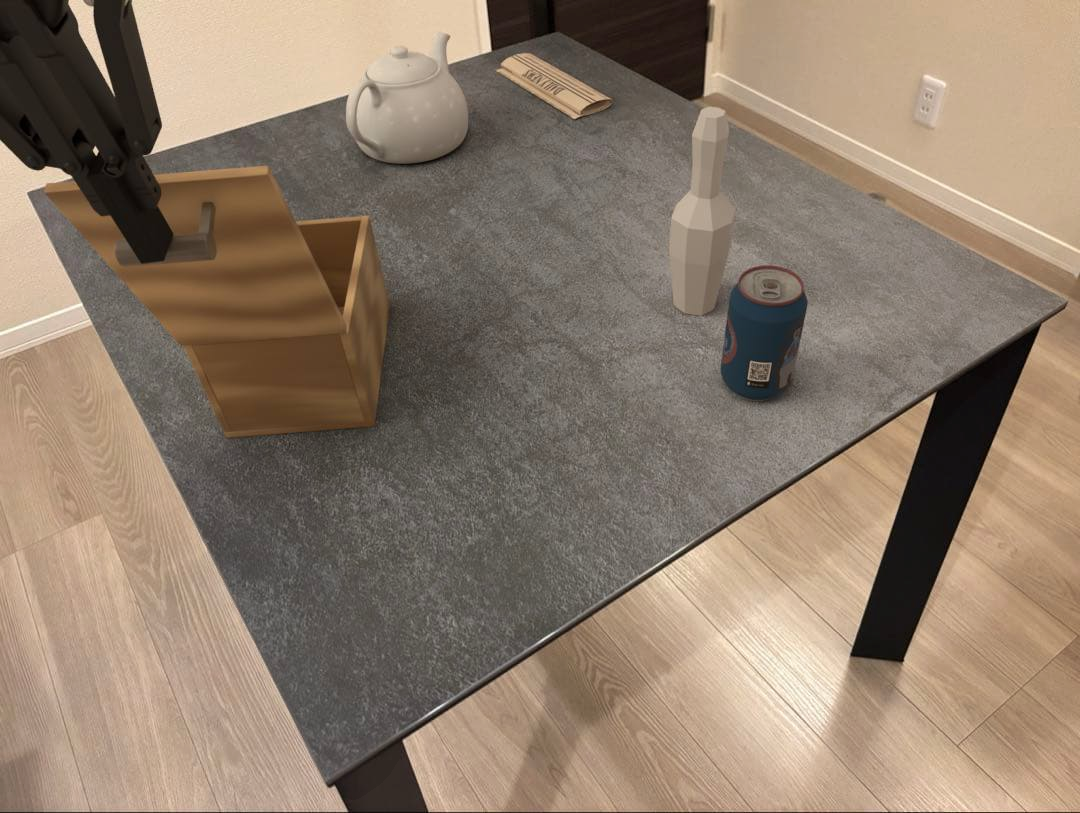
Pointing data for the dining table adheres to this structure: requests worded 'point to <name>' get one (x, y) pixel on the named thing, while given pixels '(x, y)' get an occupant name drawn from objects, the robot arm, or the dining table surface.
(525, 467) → the dining table surface
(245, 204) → the lid
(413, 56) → the teapot
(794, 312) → the soda can
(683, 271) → the faceted bottle
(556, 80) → the newspaper
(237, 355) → the chest
